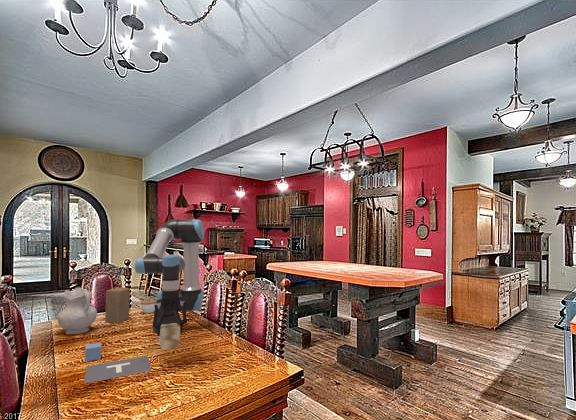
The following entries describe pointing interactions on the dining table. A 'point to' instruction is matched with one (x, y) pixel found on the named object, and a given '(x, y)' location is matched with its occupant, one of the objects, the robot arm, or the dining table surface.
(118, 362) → the board
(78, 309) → the ceramic pitcher
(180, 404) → the dining table surface
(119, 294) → the wooden block
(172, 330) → the maple block
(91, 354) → the blue cube
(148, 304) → the lidded jar
